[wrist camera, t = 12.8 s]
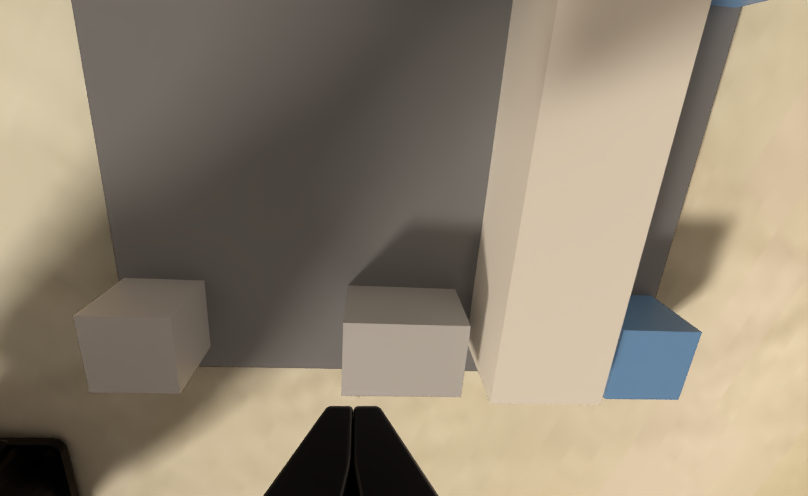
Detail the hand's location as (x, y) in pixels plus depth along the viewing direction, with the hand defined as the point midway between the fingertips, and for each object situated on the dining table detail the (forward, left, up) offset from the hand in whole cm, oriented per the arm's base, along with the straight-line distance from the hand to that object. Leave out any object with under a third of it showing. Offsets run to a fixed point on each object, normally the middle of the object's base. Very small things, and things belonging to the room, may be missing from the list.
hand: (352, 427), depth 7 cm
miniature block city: (+3, -2, -11) cm, 11 cm away
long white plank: (+3, -7, -10) cm, 13 cm away
